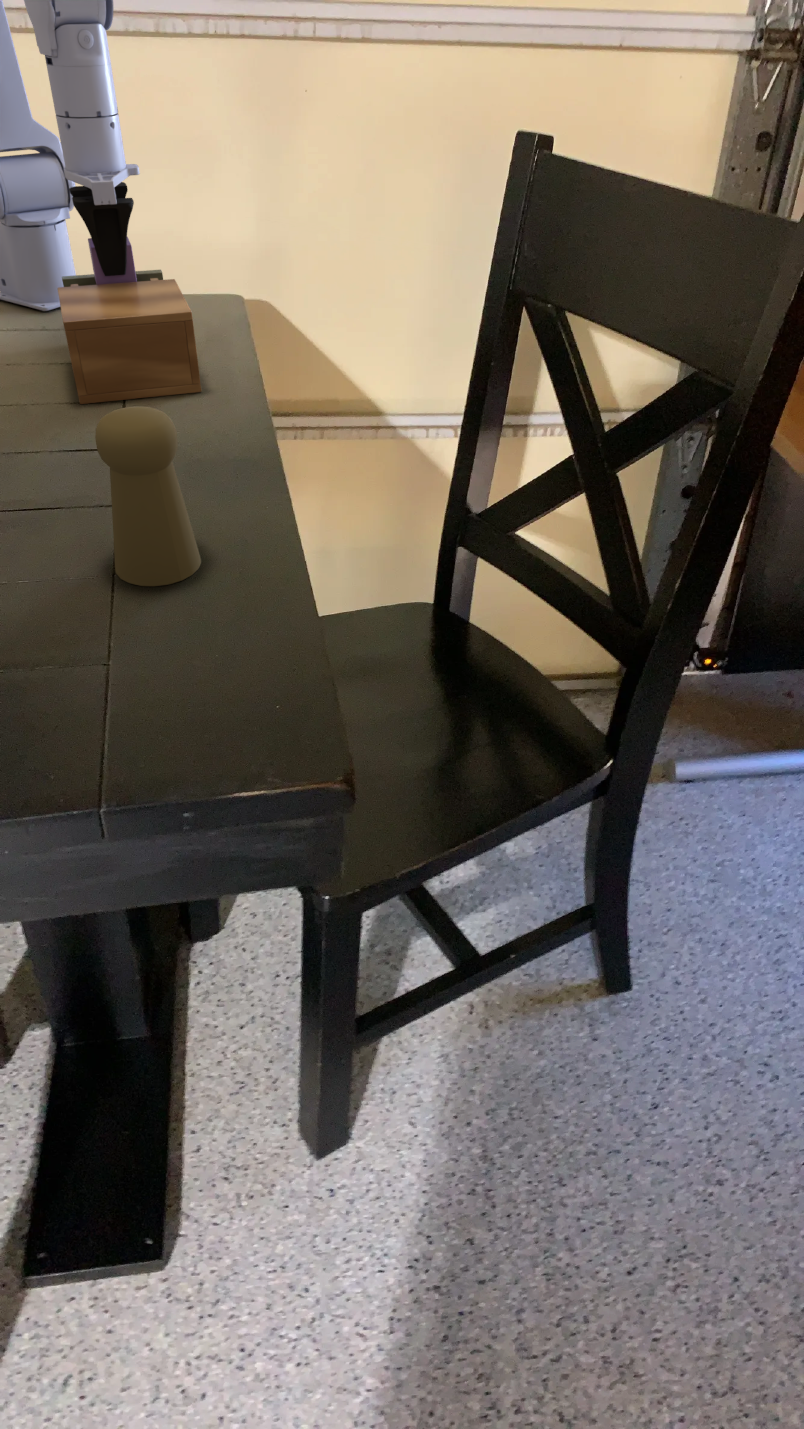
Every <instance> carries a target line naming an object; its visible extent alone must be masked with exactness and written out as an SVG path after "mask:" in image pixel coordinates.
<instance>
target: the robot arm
mask: <svg viewBox="0 0 804 1429" xmlns="http://www.w3.org/2000/svg"><path fill="white" fill-rule="evenodd" d="M23 2H24V6H25V9H26V12H27V15H28V18H29V20H30V23H31V25H32V28H33V32H34V36H35V41H36V46H37V47H38V48H37V49H38V52H39V54H40V55H43V56H44V60H45V63H46V70H47V76H48V81H49V85H50V86H49V87H50V91H51V96H52V102H53V107H54V113H55V119H56V124H57V129H58V135H59V136H58V135H56V134H55V133H54V132H52V131H51V130H49V129H48V128H47V127H45V126H44V125H42V124H41V123H39V122H38V121H36V120H35V119H34V117H33V114H32V110H31V106H30V102H29V98H28V95H27V91H26V86H25V82H24V79H23V76H22V72H21V68H20V64H19V60H18V56H17V52H16V51H17V50H16V47H15V44H14V40H13V36H12V32H11V28H10V24H9V21H8V16H7V13H6V9H5V5H4V2H3V0H0V153H7V152H17V151H20V152H21V151H28V150H29V151H36V152H34V153H24V154H13V155H3V156H0V301H5V302H9V303H13V304H15V305H20V306H24V307H28V308H32V309H35V310H38V311H43V312H48V311H51V310H54V309H58V308H61V307H60V301H59V295H58V289H57V288H58V287H64V286H63V281H62V276H76V275H77V272H76V268H75V263H74V256H73V252H72V247H71V241H70V236H69V231H68V226H67V220H69V219H71V215H70V212H71V211H73V209H74V208H75V210H76V212H77V213H78V215H79V216H80V218H81V219H82V221H83V223H84V226H86V229H87V231H88V234H89V236H90V238H92V241H93V244H94V247H95V250H96V253H97V257H98V260H99V263H100V266H101V268H102V271H103V273H104V275H105V276H115V275H125V274H126V264H127V237H128V230H129V223H130V220H131V215H132V212H133V208H134V205H135V202H134V201H135V200H134V199H133V197H126V196H127V194H128V185H127V183H125V182H124V181H125V180H127V179H128V178H129V177H131V176H139V175H140V174H141V172H140V167H139V165H138V164H136V163H127V161H126V155H125V148H124V143H123V136H122V129H121V122H120V116H119V109H118V102H117V95H116V88H115V87H116V86H115V82H114V75H113V74H114V73H113V68H112V61H111V54H110V49H109V41H108V35H107V31H109V30H110V28H111V27H112V24H113V21H114V0H23ZM76 184H78V185H77V186H76Z"/></svg>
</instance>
